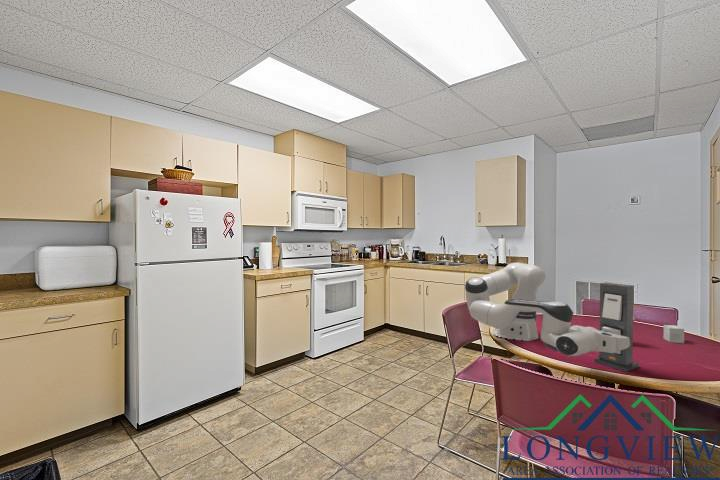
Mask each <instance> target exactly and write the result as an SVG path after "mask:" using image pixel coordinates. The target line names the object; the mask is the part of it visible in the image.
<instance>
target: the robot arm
mask: <svg viewBox="0 0 720 480" xmlns="http://www.w3.org/2000/svg"><path fill="white" fill-rule="evenodd" d="M545 279H546V273H545V271H544V270H543V268H541V267H539V266H537V265H535V264H530V263H523V262H511V263H508V264H507V265H506V266H505V267H503V268H501V269H500V270H497V271H493V272H490V273H488V274H485V275H481V276H479V277H471V278H469V279H468V280H467V281H466V282H465V286H464V288H465V300H466V303H467V304H466V305H467V308H468V310H467V311H468V313H469V316H470V317H471V318H473V319H474V320H475V321H477V322H479V323H481V324H483V325H486V326H489V327H491V328H493V330H492V335H493V334H494V335H496V334H497V336H500V337H502V338H501V339H505V338H507V340H513V339H515V340H516V341H521V340H523V342H530V341H534V340H537V339H540V341H542V343H543V344H544V346H546V347H547V348H549V349H551V350H553V351H556V352H559V353H561V354H562V355H565V356H567V357H575V356H576V357H577V356H582V355H585V354H587V353H590V352H599V351H600V352H607V353H615V352H616V351H619V350H623V349H626V348H628V347H629V346H630V339H629V338H628V337H626V336H621V335H617V334H613V333H611V332H609V331H604V330H602V331H600V329H597V328H595V327H592V326H582V325H578V324H576V325H575V324H574V325H572V324H571V323H572V320H573V316H574V312H573V309H571V307H570V305H568V304H567V303H565V302H561V301H542V300H536V298H537V297H536V296H537V292H538V289H539V287H540V286H541V285H542V284H544V282H545V281H546V280H545ZM514 285H517V288H516V290H515V291H514V292H513V293H512V298H511V299H507V300H505V301H504V302H503V303H501V302H500V303H499V302H494V301H490V299H491V298H490V297H491V296H494V295H497V294H501V293H504V292H507V291H509V290H510V289H511V287H513V286H514ZM537 312H539V313H541V314H542V324H541V330H540V338H539V333H538V330H537ZM494 335H493V336H494ZM515 340H514V341H515Z"/></svg>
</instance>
